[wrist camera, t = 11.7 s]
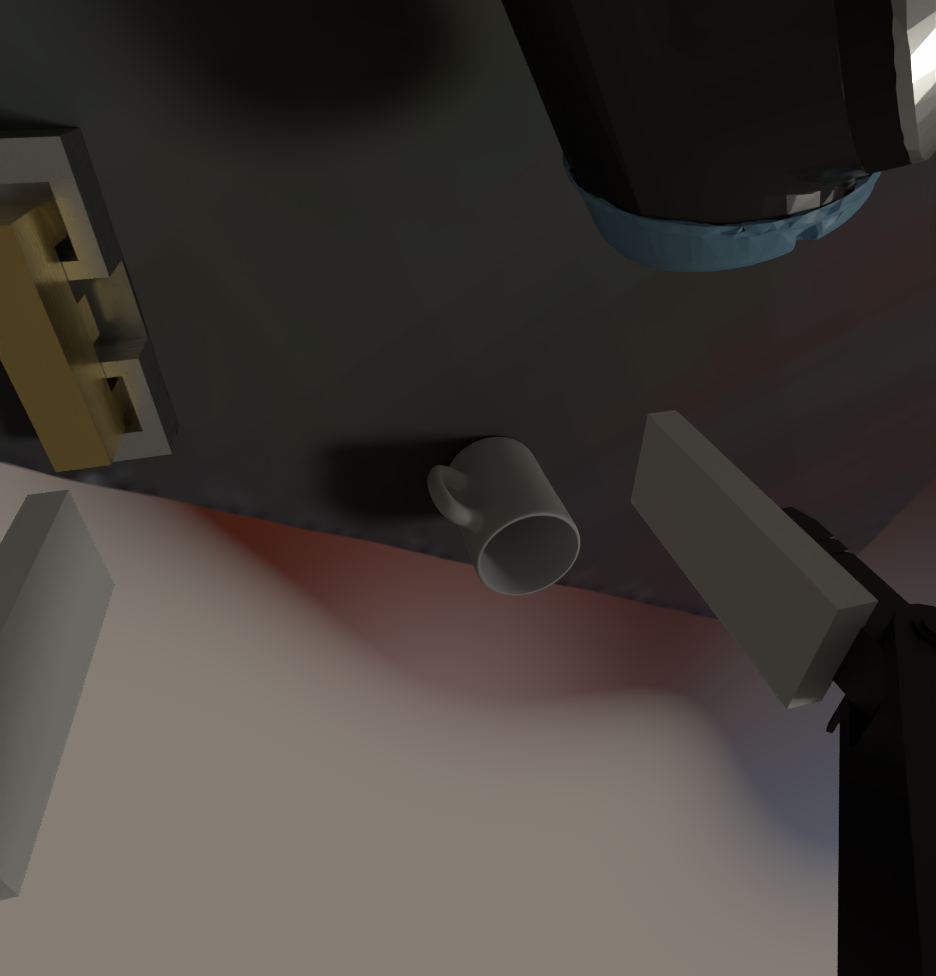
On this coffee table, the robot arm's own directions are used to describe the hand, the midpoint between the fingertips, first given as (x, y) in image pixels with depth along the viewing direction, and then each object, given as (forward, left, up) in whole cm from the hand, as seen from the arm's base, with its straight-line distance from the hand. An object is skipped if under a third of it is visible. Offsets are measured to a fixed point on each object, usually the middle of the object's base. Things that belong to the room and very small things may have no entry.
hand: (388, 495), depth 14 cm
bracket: (+5, -16, -31) cm, 35 cm away
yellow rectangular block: (+5, -16, -30) cm, 34 cm away
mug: (+22, +10, -32) cm, 40 cm away
